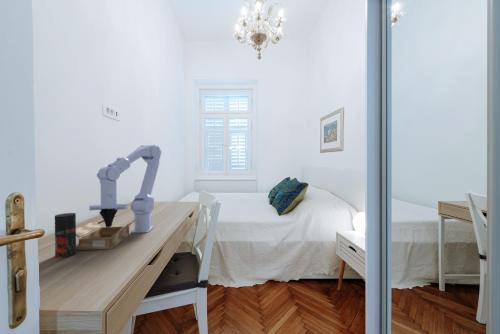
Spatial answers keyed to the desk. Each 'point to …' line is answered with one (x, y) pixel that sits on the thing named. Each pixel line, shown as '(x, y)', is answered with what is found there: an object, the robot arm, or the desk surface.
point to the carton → (103, 238)
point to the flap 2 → (123, 228)
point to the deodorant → (65, 235)
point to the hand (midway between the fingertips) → (108, 226)
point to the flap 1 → (87, 229)
